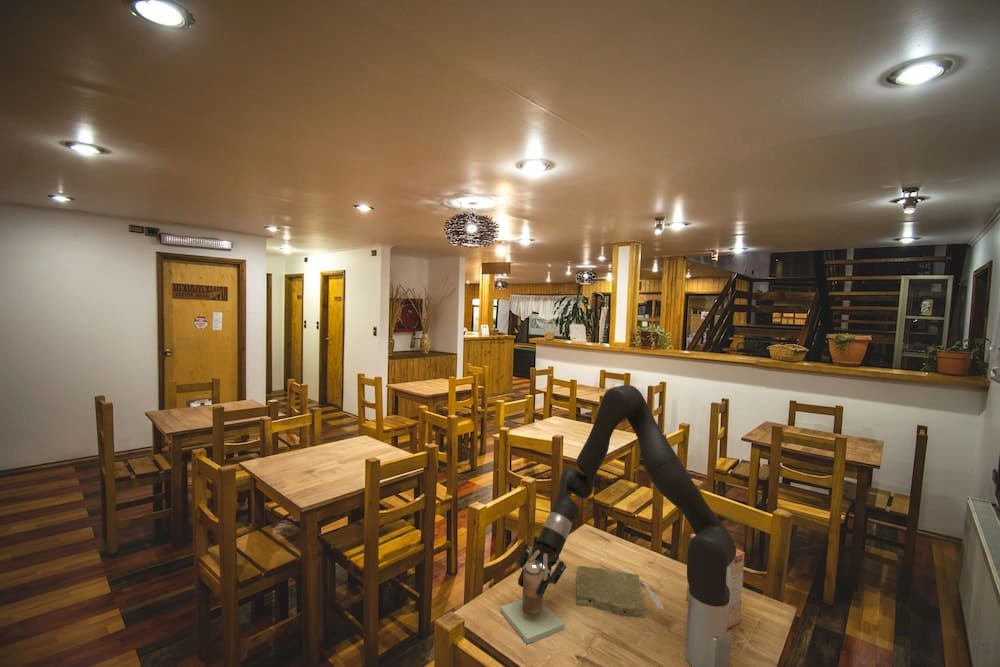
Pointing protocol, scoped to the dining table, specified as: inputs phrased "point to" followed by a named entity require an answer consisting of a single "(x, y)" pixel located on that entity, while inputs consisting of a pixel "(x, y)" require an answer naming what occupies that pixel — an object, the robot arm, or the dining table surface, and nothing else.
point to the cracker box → (733, 586)
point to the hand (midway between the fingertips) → (529, 590)
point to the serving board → (531, 622)
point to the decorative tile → (609, 591)
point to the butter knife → (654, 597)
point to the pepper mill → (532, 588)
